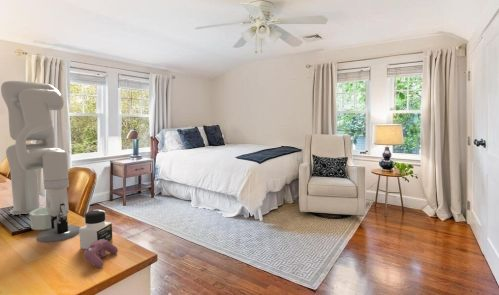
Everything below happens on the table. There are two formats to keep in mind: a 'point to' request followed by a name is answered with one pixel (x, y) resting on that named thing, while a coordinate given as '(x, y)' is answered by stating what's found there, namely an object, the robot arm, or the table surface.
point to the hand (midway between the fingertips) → (59, 229)
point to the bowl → (40, 219)
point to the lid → (53, 235)
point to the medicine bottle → (95, 229)
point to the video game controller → (99, 252)
